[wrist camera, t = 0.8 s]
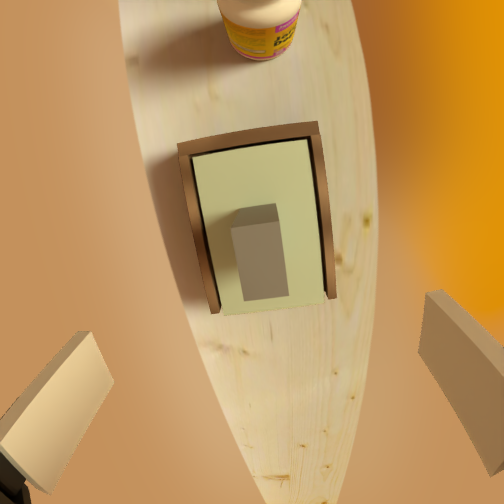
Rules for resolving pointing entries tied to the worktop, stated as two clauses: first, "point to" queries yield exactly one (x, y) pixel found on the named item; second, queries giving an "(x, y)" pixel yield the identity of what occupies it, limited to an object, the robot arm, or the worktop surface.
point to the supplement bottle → (260, 26)
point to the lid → (262, 226)
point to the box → (251, 139)
